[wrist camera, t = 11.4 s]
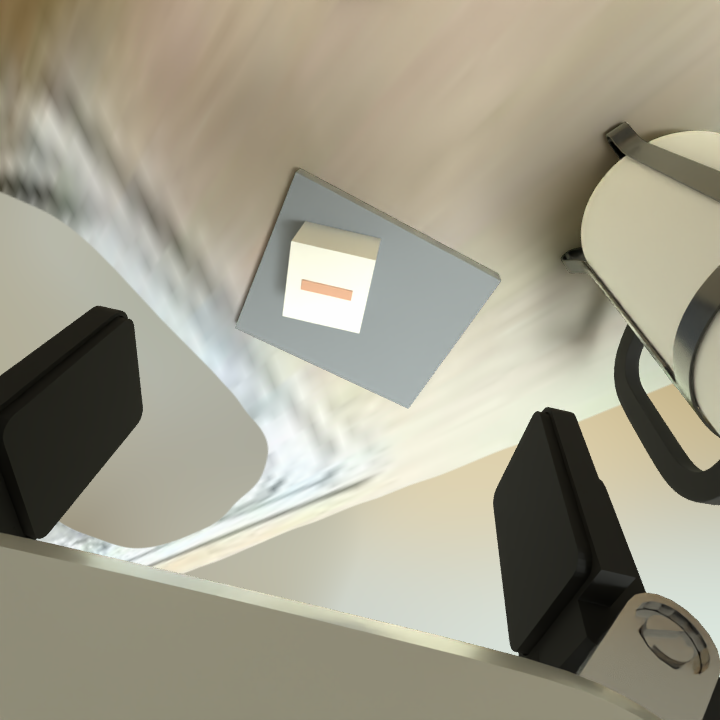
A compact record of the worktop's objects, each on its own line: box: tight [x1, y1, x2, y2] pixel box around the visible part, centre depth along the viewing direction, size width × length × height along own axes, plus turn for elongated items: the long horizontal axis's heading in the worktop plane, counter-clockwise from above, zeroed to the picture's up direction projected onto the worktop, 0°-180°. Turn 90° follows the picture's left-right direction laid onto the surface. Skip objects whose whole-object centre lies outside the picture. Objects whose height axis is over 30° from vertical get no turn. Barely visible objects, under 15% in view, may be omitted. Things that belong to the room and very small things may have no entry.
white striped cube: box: [282, 221, 381, 333], centre depth 39 cm, size 6×6×5 cm
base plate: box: [235, 168, 501, 408], centre depth 44 cm, size 19×16×2 cm
